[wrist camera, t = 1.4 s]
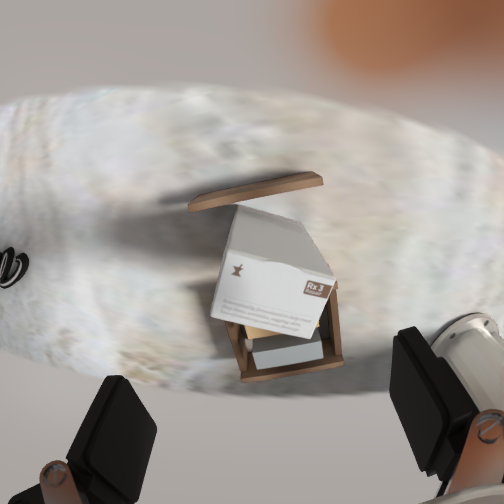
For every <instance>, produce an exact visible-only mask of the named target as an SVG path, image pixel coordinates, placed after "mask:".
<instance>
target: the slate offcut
mask: <svg viewBox="0 0 504 504" xmlns="http://www.w3.org/2000/svg"><path fill="white" fill-rule="evenodd" d="M252 354H253V357H254V361H255V364H256V368H257V370H258V369H265V368H271V367H277V366H283V365H289V364H295V363H301V362H306V361H311V360H316V359H321V358H323V351H322V342H321V338H320V334H319V330H318V327H316V328H315V330H314V332H313V334H312V337H311V338H310V339H307V338H302V337H297V336H292V335H288V334H278V335H272V336H267V337H260V338H254V339H253V349H252Z"/></svg>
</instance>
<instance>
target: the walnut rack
mask: <svg viewBox="0 0 504 504" xmlns="http://www.w3.org/2000/svg"><path fill="white" fill-rule="evenodd" d="M321 185H323V179H322V177H321V176H320V175H318V174H316V173H315V172H308V173H302V174H297V175H292V176H286V177H281V178H276V179H271V180H266V181H261V182H256V183H252V184H247V185H242V186H238V187H233V188H229V189H224V190H220V191H215V192H211V193H207V194H203V195H198V196H197V197H196V198H195V199H194V200H193V201H191V202H190V203H189V204H188V209H189V212H190V213H191V212H195V211H199V210H204V209H208V208H212V207H217V206H221V205H226V204H230V203H235V202H240V201H244V200H249V199H254V198H259V197H264V196H269V195H274V194H279V193H284V192H289V191H294V190H299V189H305V188H310V187H316V186H321ZM328 266H329V265H328ZM329 268H330V267H329ZM336 289H338V285H337V281H335V283H334V286H333V288H332V290H331V293H330V295H329V297H328V300H327V302H326V304H327V312H328V321H329V330H330V338H328V339H323V340H321V342H322V351H323V358H321V359H316V360H311V361H306V362H301V363H295V364H289V365H283V366H277V367H271V368H265V369H258V370H257V368H256V364H255V361H254V357H253V354H252V352H250V353H248V351H247V348H246V344H245V341H244V337H243V334H242V330H241V327H240V324H238V323H234V322H230V321H225V320H224V321H225V324H226V327H227V330H228V334H229V337H230V340H231V343H232V346H233V349H234V352H235V355H236V359H237V362H238V365H239V368H240V371H241V378H240V379H241V382H242V383H246V382H254V381H261V380H268V379H275V378H281V377H287V376H293V375H299V374H304V373H310V372H315V371H320V370H325V369H330V368H334V367H339V366H343V365H344V360H343V357H342V350H341V337H340V325H339V314H338V304H337V294H336Z"/></svg>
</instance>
